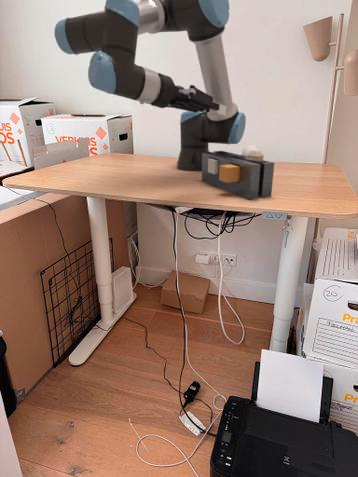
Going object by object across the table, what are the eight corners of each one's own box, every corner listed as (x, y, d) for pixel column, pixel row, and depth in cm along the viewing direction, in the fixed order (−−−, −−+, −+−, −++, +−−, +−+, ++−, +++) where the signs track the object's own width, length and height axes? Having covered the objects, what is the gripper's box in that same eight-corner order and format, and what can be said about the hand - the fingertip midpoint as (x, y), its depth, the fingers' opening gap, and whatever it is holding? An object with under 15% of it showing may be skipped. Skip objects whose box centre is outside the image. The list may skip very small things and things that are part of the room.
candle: (262, 177, 124) (264, 150, 120) (260, 180, 119) (262, 152, 115) (247, 176, 126) (249, 149, 122) (245, 179, 121) (246, 151, 117)
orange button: (227, 182, 99) (227, 167, 97) (219, 179, 102) (219, 165, 101) (239, 181, 100) (240, 166, 99) (231, 178, 104) (232, 164, 102)
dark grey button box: (249, 200, 97) (251, 164, 93) (201, 180, 120) (202, 151, 117) (271, 196, 100) (274, 162, 96) (220, 178, 124) (221, 150, 120)
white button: (214, 174, 110) (215, 160, 108) (207, 172, 114) (208, 158, 112) (226, 173, 112) (226, 159, 110) (218, 170, 115) (219, 157, 114)
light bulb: (255, 175, 128) (257, 145, 123) (238, 174, 130) (239, 145, 126) (259, 172, 133) (262, 143, 129) (243, 170, 136) (245, 142, 132)
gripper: (139, 110, 87) (208, 128, 101) (166, 98, 77) (239, 120, 90) (141, 80, 87) (210, 103, 100) (169, 64, 76) (242, 92, 90)
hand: (224, 111), depth 95 cm, fingers closed
